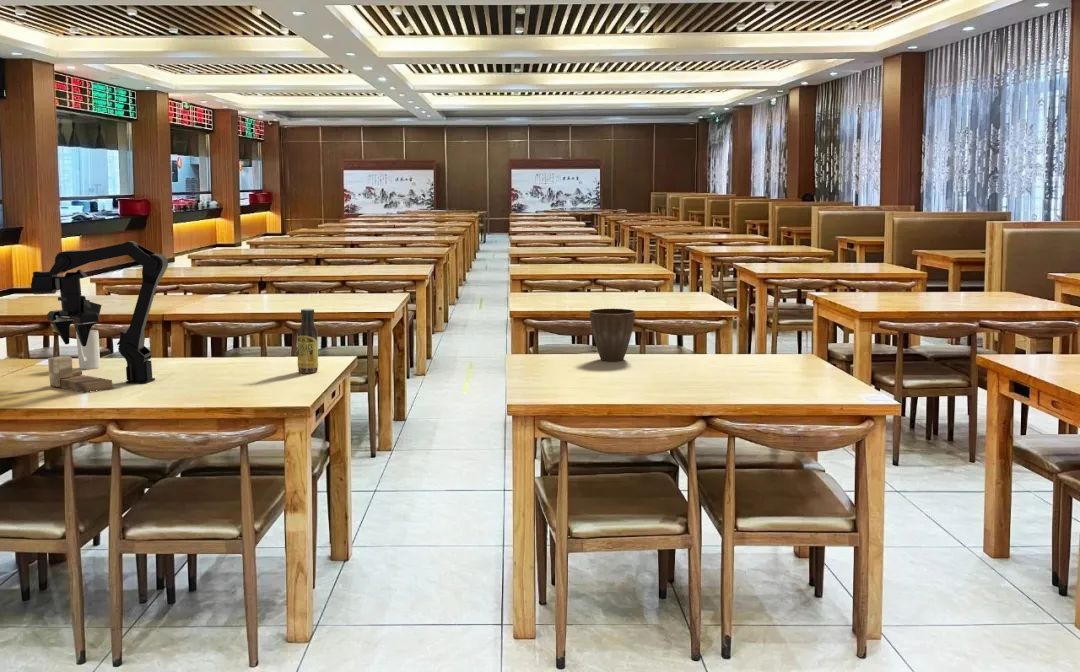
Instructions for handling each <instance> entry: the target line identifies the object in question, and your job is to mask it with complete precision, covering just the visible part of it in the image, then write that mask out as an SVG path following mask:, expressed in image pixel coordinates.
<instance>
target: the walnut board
mask: <svg viewBox="0 0 1080 672" xmlns="http://www.w3.org/2000/svg"><path fill="white" fill-rule="evenodd" d="M60 387H62V388H61V389H65V388H66V390H70V389H72V390H71V391H75V390H77V391H76V392H80V391H83V392H82V393H85V392H89V393H91V392H90V391H95V392H97V391H96V390H101V391H104V390H103V389H107V390H111V389H110V388H113V380H112V379H107V378H102V377H97V376H91V375H85V374H81V375H75V376H73V377H67V378H61V379H60V386H58V387H57V386H56V388H60Z"/></svg>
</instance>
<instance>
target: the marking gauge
mask: <svg viewBox="0 0 1080 672" xmlns="http://www.w3.org/2000/svg"><path fill="white" fill-rule="evenodd" d="M72 358H73V357H72V356H68V355H60V356H54V357H48V358H47V361H48V375H49V386H51V385H52V386H51V387H55V386H57V387H56V388H59V387H58V386H60V379H61V378H67V377H73V376H75V375H83V370H76V371H73V359H72Z"/></svg>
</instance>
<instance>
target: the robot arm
mask: <svg viewBox="0 0 1080 672" xmlns="http://www.w3.org/2000/svg"><path fill="white" fill-rule="evenodd" d="M124 256H128V257H129V258H131V259H133V261H134V262H136V263H138V264H139V265H140V266H142V270H141V276H142V277H141V280H142V283H141V286H140V290H139V294H138V297H137V299H136V304H135V307H134V310H133V314H132V318H131V320H130V323H129V327H128V328H127V329H124V330H122V331H120V334H119V340H118V342H117V343H116V346H118V348H117V349H118V352H119V354H120V355H121V356H122V357H124V359H125V361H126V366H125V374H126V376H125V377H126V380H125V381H124V382H125V384H147V383H150V382H152V381H155V380H156V378H155V377H153V368H152V367H153V366H152V365H153V364H152V360H151V358H152V355H153V352H152V351H151V350H150V349H148V347H147V346H145V343H146V342H145V341H146V337H145V336H146V334H145V329H146V328H145V327H146V325H147V322H148V318H149V314H150V311H151V307H152V303H153V300H154V297H155V294H156V291H157V287H158V284H160V281H161V280H162V278H163V277H164V275H165V273H166V271H167V269H168V266H169V260H168V258H167V257H166V256H165V255H163V254H161V253H156V252H154V251H152V250H150V249H148V248H146V247H144V246H142V245H140V244H139V243H137V241H134V240H130V241H125V242H123V243H119V244H113V245H109V246H103V247H99V248H93V249H83V250H82V249H79V250H77V249H75V250H64V251H61V252H58V253H57V254H56V256H55V258H54V264H53V265H52V266H51V268H50V270H49V271H40V270H39V271H38V270H36V271H33V272H32V278H31V282H30V288H31V292H32V293H33V295H55V294H56V293H57V291H59V292H60V297H59V296H58V297H57V301H59V302H61V303H60V305H61V309H56V310H49V312H48V313H47V315H46V317H47V321H48V322H50V324H51V325H52V326H53V328H54V329H55V330H56V332H57V334H58V335H59V337H60V339H61V340H62V342H63V343H64V345H69V344H70V331H71V330H70V329H71V328H70V327H71V325H72V323H73V322H74V324H73V326H74V329H75V332H77V335H78V337H79V340H80V342H81V345H82V346H86V344H87V340H88V336H89V332H90V330H92V328H93V327H94V326H95V325H97V323H98V322H100V313H101V309H102V306H103V305H102V304H100V303H96V302H93V301H91V300H89V299H86V296H85V295H82V288H81V285H82V284H81V279H82V278H86V277H88V274H87V273H85V272H84V271H83V269H81V267H84V266H86V265H89V264H90V263H94V262H98V261H102V260H107V259H109V260H110V259H113V258H119V257H124ZM79 268H80V269H79ZM76 269H77V270H76ZM72 270H76V271H72ZM69 271H71V272H69ZM60 274H65V275H60Z"/></svg>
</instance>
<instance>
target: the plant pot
mask: <svg viewBox="0 0 1080 672" xmlns="http://www.w3.org/2000/svg"><path fill="white" fill-rule="evenodd" d="M635 317H636V310H634V309H629V308H627V309H626V308H596V309H595V308H594V309H591V310H589V319H590V326H591V331H592V336H593V339H594V342H595V347H596V349H597V352H598V356H599V359H600V360H601V361H604V362H620V361H623V360H624V359H625V356H626V353H627V352H628V351H627V350H628V348H629V344H630V342H631V338H632V333H633V329H634V324H635Z"/></svg>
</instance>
